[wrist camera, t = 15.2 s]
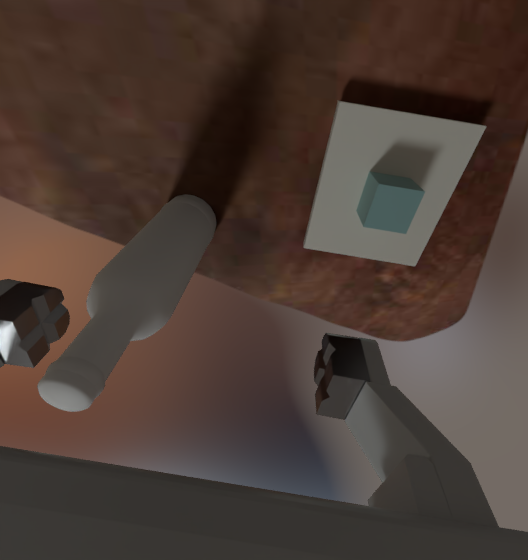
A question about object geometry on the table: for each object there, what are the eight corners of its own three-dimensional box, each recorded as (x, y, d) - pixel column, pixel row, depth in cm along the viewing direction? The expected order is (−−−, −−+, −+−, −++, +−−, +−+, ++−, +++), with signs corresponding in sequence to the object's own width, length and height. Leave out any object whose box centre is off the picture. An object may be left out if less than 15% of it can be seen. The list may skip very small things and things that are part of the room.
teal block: (369, 171, 36) (378, 183, 32) (410, 178, 36) (425, 191, 32) (356, 210, 39) (363, 226, 35) (394, 217, 39) (405, 234, 35)
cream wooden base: (336, 99, 34) (339, 101, 32) (472, 122, 35) (486, 126, 32) (303, 238, 45) (303, 247, 42) (408, 255, 45) (415, 266, 42)
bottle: (179, 181, 42) (11, 338, 17) (227, 214, 44) (138, 396, 19) (156, 224, 46) (-8, 400, 21) (201, 252, 48) (100, 442, 23)
